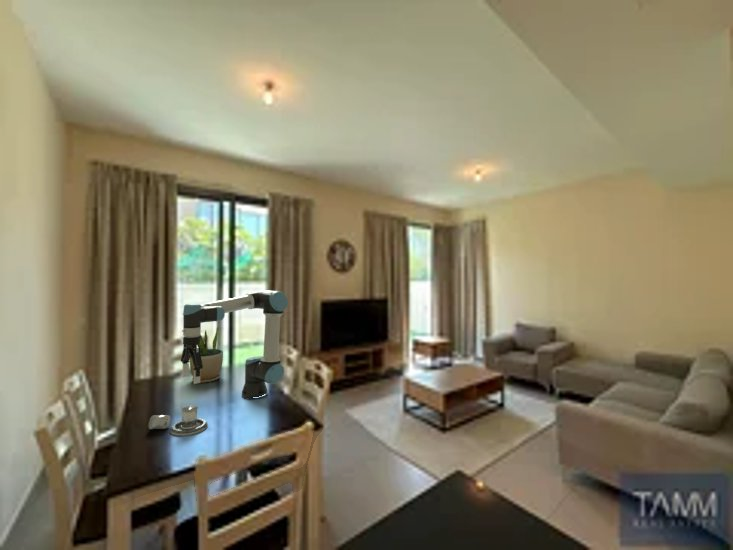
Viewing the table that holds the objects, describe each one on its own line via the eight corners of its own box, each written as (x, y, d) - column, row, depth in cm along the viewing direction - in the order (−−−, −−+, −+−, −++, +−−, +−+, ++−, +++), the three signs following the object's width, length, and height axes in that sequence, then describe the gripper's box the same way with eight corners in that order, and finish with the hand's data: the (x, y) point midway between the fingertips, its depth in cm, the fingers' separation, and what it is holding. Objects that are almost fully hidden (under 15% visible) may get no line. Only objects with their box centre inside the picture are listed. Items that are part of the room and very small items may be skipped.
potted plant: (187, 386, 226) (188, 325, 226) (189, 377, 245) (191, 320, 245) (222, 383, 234) (223, 323, 234) (221, 374, 254) (223, 319, 254)
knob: (193, 422, 171) (194, 404, 171) (200, 426, 166) (200, 407, 166) (178, 426, 165) (178, 408, 165) (184, 431, 161) (185, 412, 161)
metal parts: (212, 421, 174) (212, 408, 174) (199, 436, 158) (200, 422, 158) (160, 421, 172) (160, 409, 172) (142, 436, 156) (142, 423, 156)
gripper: (173, 333, 173) (173, 375, 173) (194, 340, 156) (193, 387, 156) (189, 331, 178) (189, 372, 179) (210, 338, 162) (210, 384, 162)
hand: (191, 379), depth 167 cm, fingers open, 13 cm apart
